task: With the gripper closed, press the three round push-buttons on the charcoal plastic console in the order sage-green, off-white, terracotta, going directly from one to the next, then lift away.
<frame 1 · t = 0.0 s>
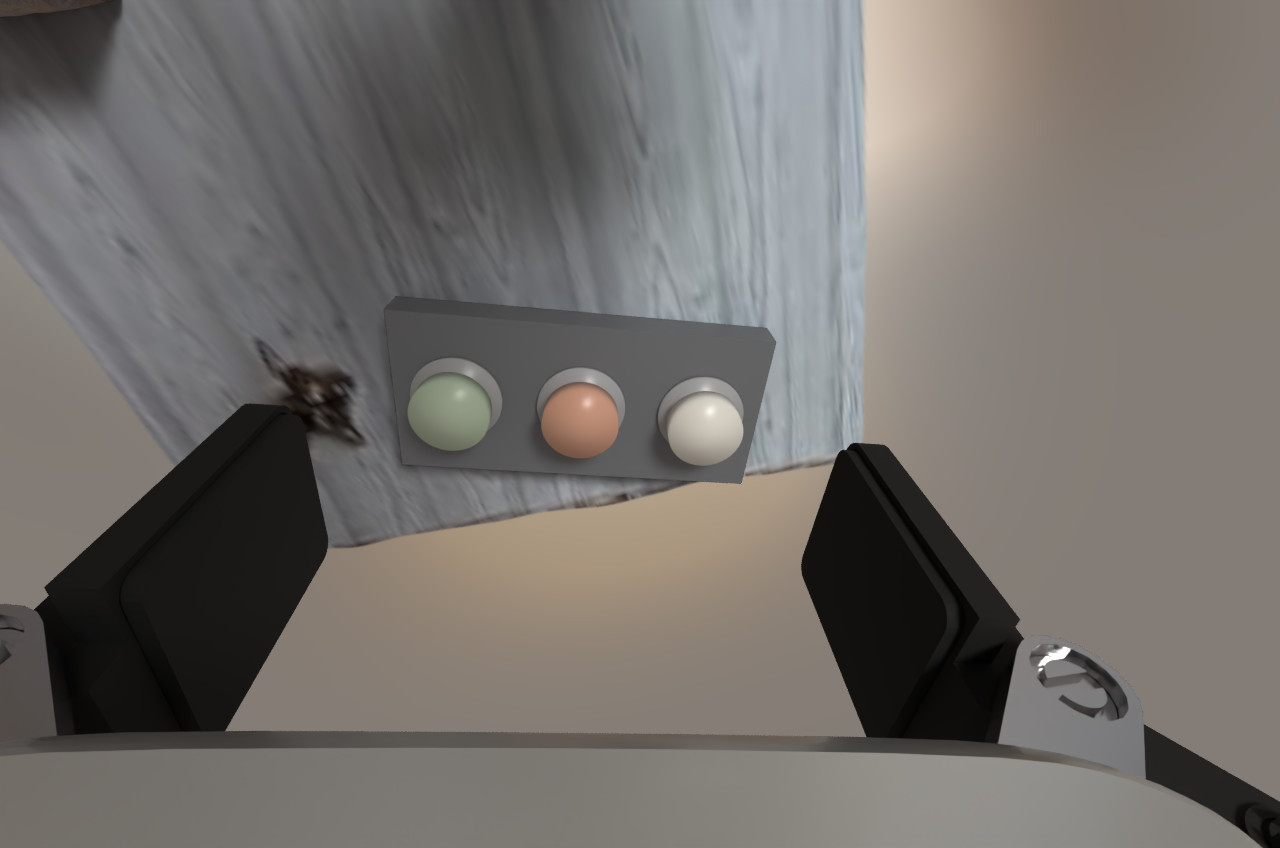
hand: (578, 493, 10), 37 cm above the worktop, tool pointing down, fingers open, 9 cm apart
button white: (704, 428, 47), point 5 cm above the worktop, slide at 0.0 cm
console: (582, 389, 51), on the worktop
button terracotta: (580, 420, 46), point 5 cm above the worktop, slide at 0.0 cm
button green: (451, 412, 45), point 5 cm above the worktop, slide at 0.0 cm
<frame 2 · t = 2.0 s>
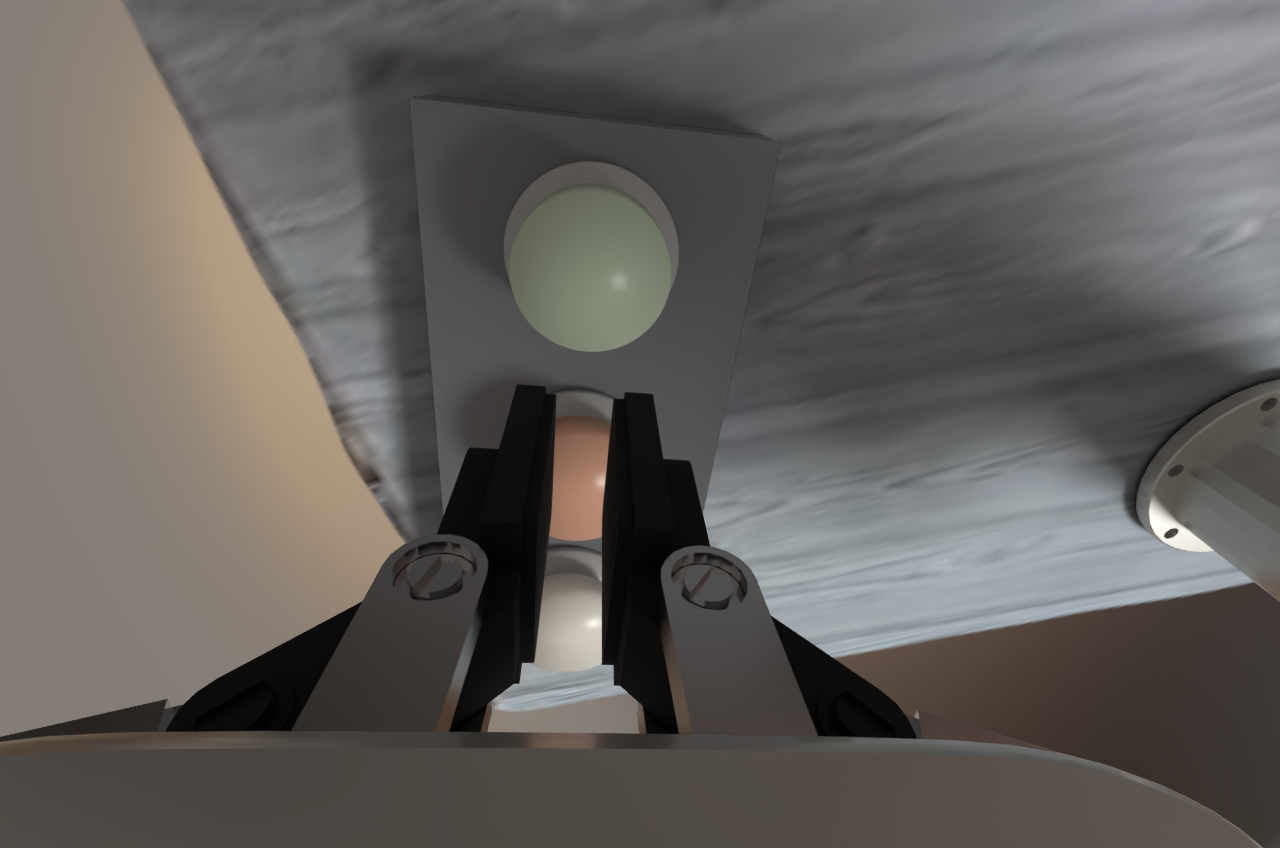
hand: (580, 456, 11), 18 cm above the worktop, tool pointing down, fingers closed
button white: (567, 623, 32), point 5 cm above the worktop, slide at 0.0 cm
console: (580, 421, 32), on the worktop
button terracotta: (577, 479, 27), point 5 cm above the worktop, slide at 0.0 cm
button green: (591, 270, 22), point 5 cm above the worktop, slide at 0.0 cm
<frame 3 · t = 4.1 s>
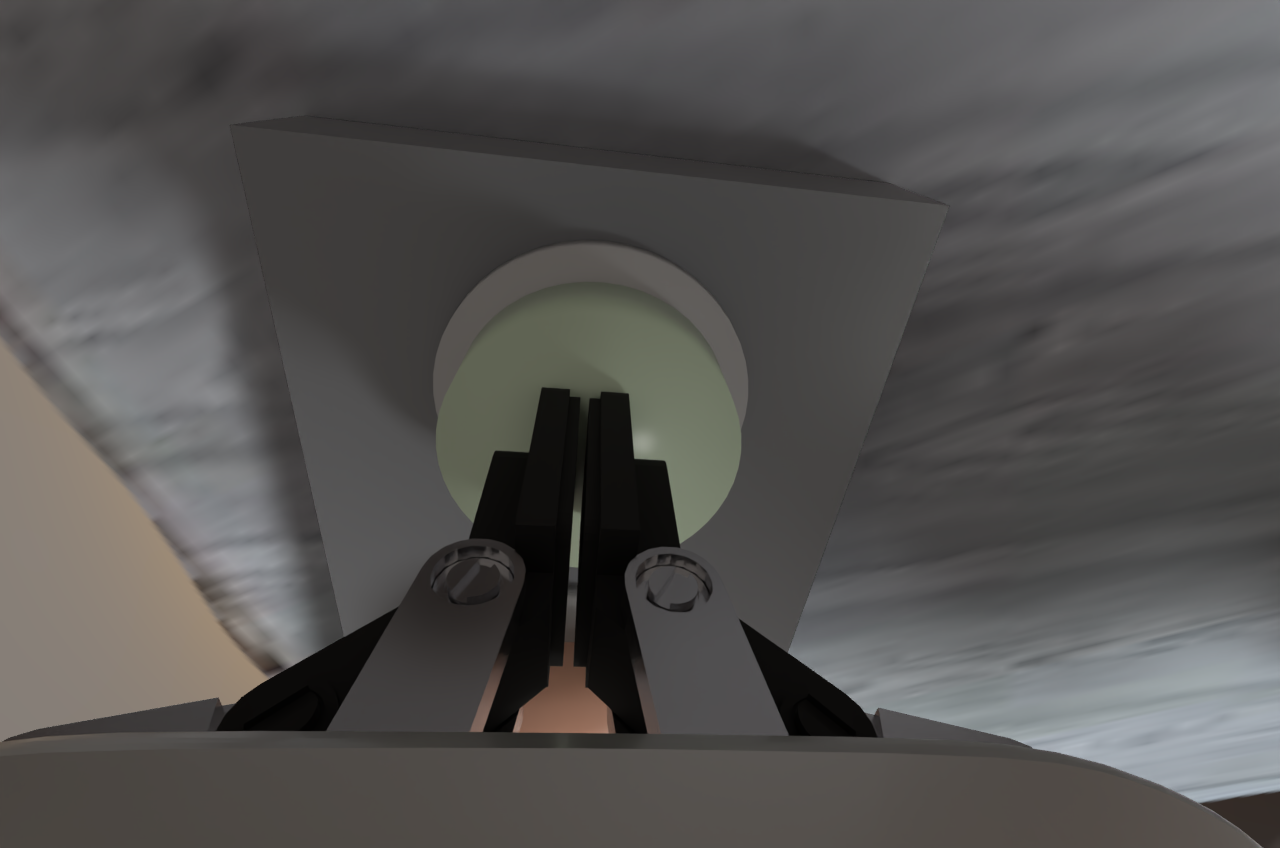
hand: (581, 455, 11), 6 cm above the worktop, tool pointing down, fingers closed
console: (576, 594, 21), on the worktop
button terracotta: (568, 736, 17), point 5 cm above the worktop, slide at 0.0 cm
button green: (592, 433, 12), point 5 cm above the worktop, slide at 0.6 cm, touching gripper
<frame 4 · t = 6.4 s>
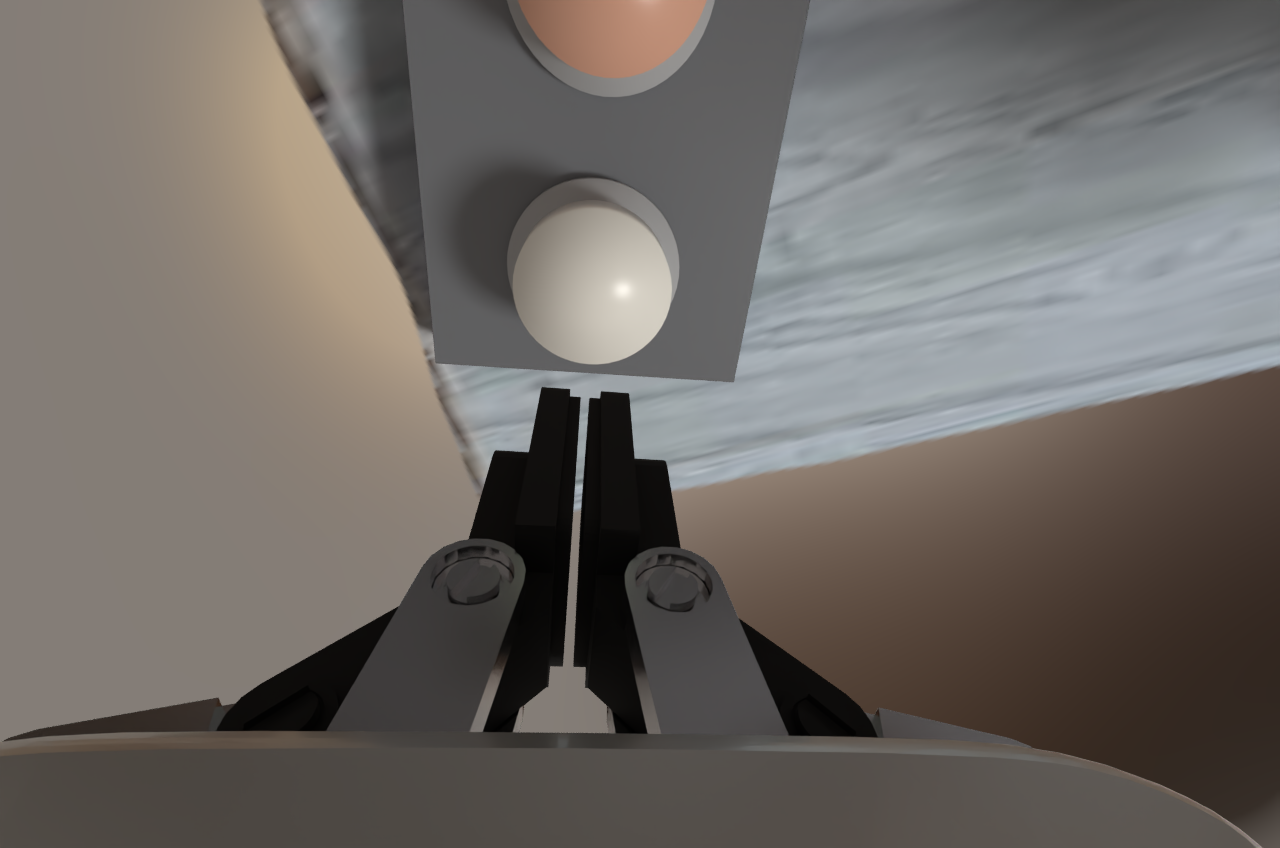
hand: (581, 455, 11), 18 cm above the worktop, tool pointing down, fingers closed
button white: (593, 284, 23), point 5 cm above the worktop, slide at 0.0 cm
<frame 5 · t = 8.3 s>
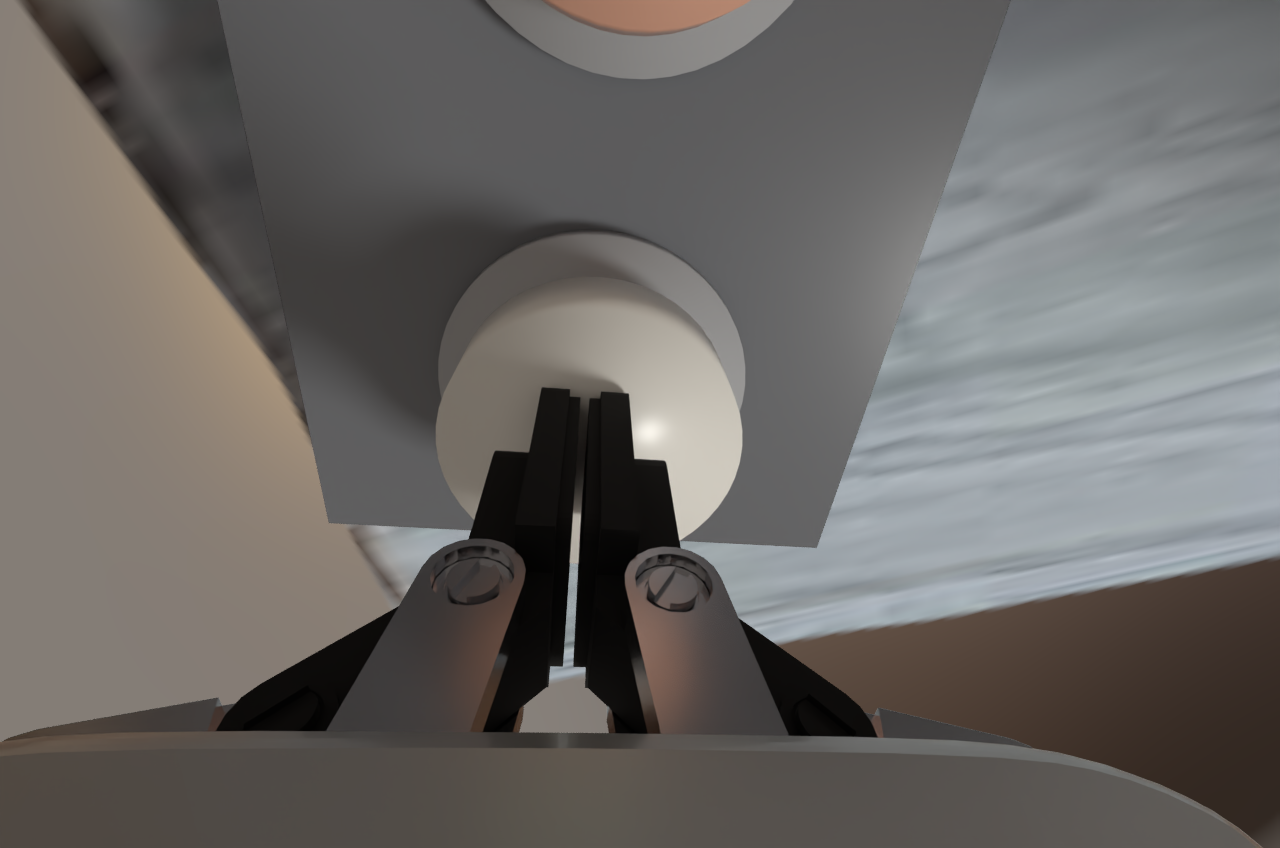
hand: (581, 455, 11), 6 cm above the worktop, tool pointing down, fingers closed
button white: (592, 429, 12), point 5 cm above the worktop, slide at 0.2 cm, touching gripper
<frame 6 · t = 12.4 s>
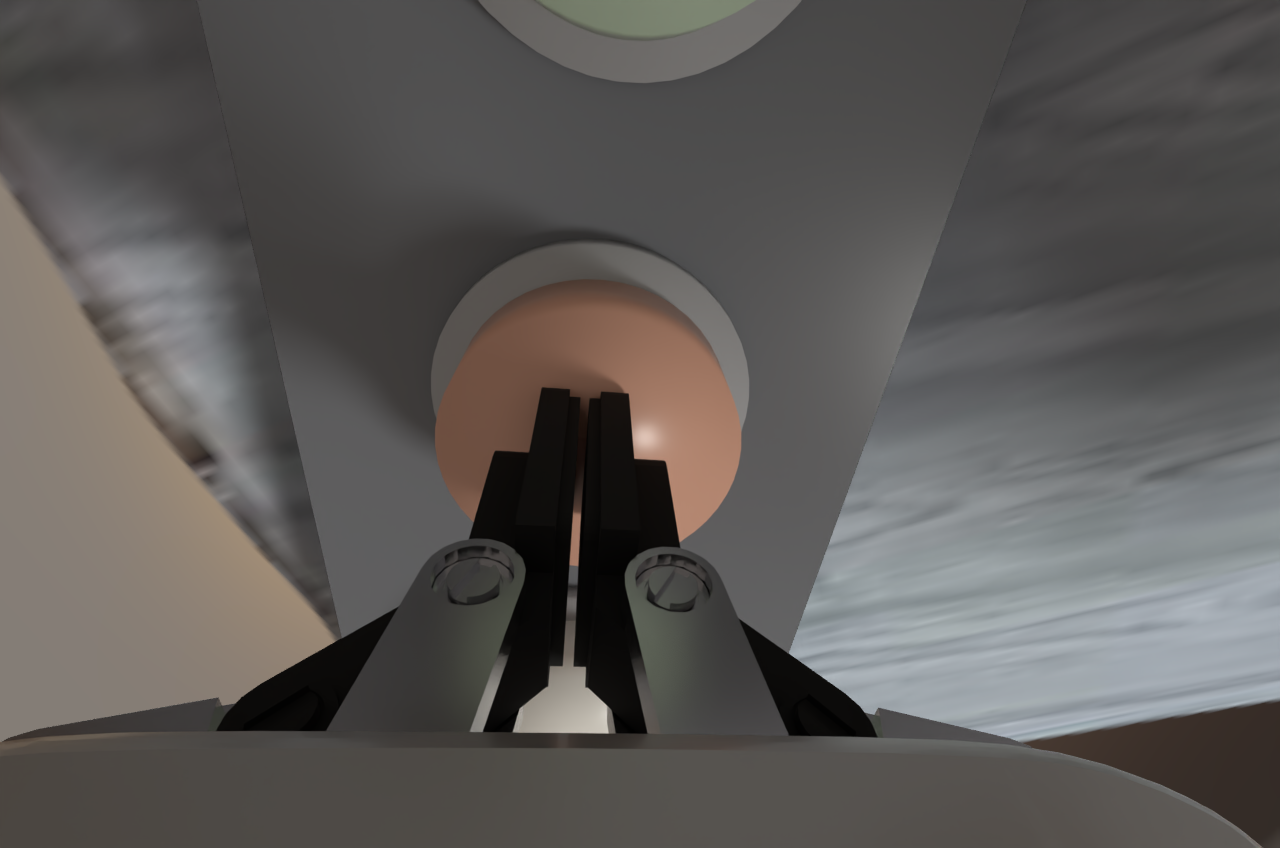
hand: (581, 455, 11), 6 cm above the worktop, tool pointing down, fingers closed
button white: (569, 712, 17), point 5 cm above the worktop, slide at 0.8 cm
console: (595, 344, 16), on the worktop
button terracotta: (591, 431, 12), point 5 cm above the worktop, slide at 0.7 cm, touching gripper
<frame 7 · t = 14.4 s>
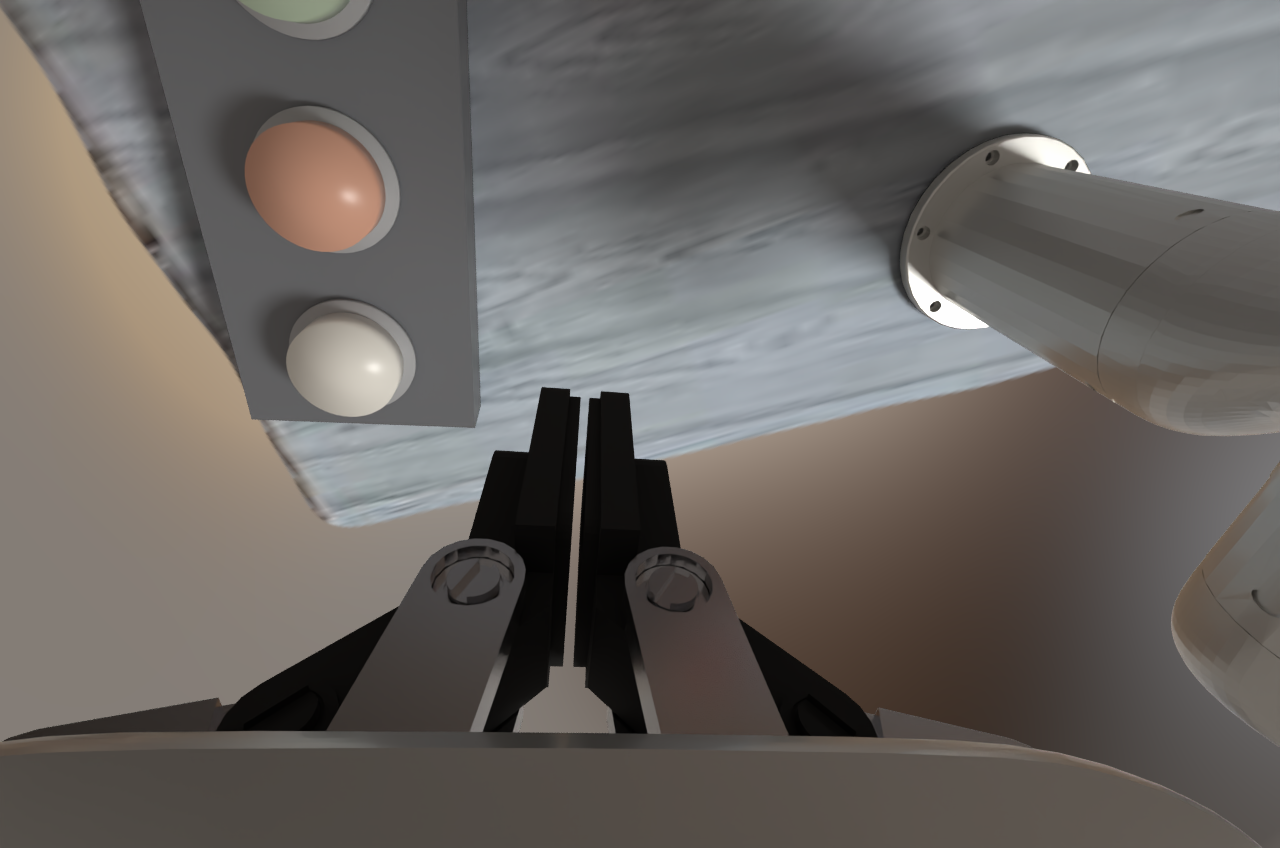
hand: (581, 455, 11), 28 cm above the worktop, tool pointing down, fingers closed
button white: (347, 365, 35), point 5 cm above the worktop, slide at 0.8 cm
console: (347, 174, 33), on the worktop
button terracotta: (318, 187, 29), point 5 cm above the worktop, slide at 0.8 cm
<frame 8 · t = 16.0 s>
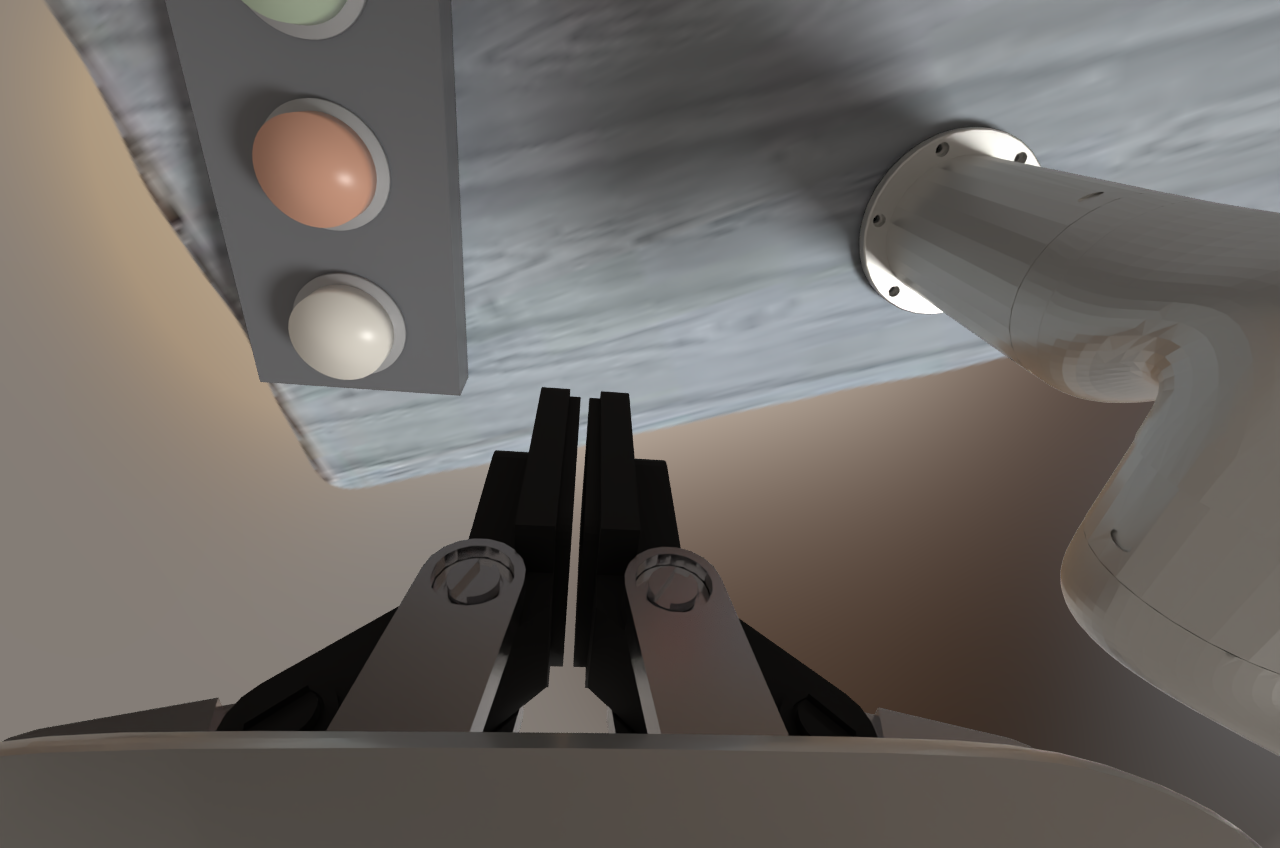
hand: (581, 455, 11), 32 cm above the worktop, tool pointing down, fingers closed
button white: (343, 333, 38), point 5 cm above the worktop, slide at 0.8 cm
console: (347, 160, 37), on the worktop
button terracotta: (317, 170, 33), point 5 cm above the worktop, slide at 0.8 cm
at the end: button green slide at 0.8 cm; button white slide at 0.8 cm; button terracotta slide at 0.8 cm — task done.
